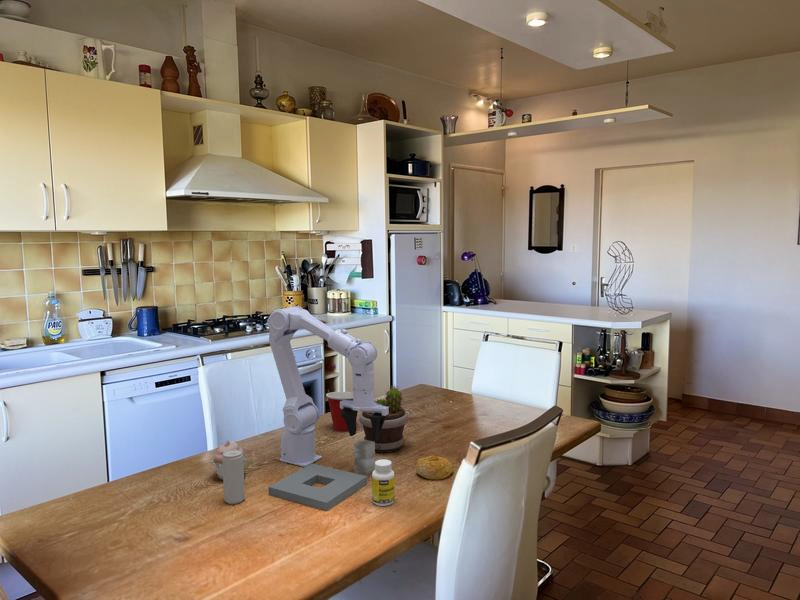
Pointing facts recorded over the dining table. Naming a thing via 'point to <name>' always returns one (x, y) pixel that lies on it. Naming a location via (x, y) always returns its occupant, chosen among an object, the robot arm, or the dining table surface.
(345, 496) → the socket board
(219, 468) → the cupcake
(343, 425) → the plastic cup
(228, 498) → the beverage can
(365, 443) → the peg
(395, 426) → the flowerpot
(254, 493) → the dining table surface
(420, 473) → the bagel
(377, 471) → the supplement bottle
